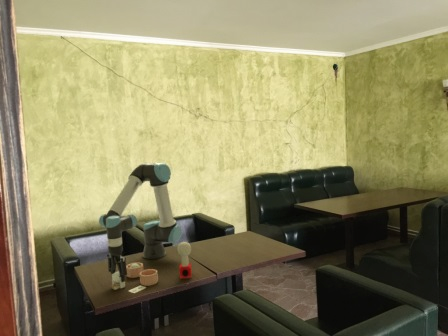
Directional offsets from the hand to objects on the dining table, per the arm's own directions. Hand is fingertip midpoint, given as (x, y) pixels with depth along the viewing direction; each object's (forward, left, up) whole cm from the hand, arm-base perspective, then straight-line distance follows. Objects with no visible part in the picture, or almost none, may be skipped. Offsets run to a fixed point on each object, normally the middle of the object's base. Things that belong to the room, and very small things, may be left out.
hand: (118, 285), depth 202 cm
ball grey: (0, 0, +5) cm, 5 cm away
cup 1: (-6, +16, 0) cm, 17 cm away
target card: (+12, +3, 0) cm, 12 cm away
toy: (+22, +30, -1) cm, 37 cm away
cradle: (0, 0, 0) cm, 0 cm away
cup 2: (+10, +13, 0) cm, 16 cm away
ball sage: (-6, +16, +3) cm, 17 cm away
